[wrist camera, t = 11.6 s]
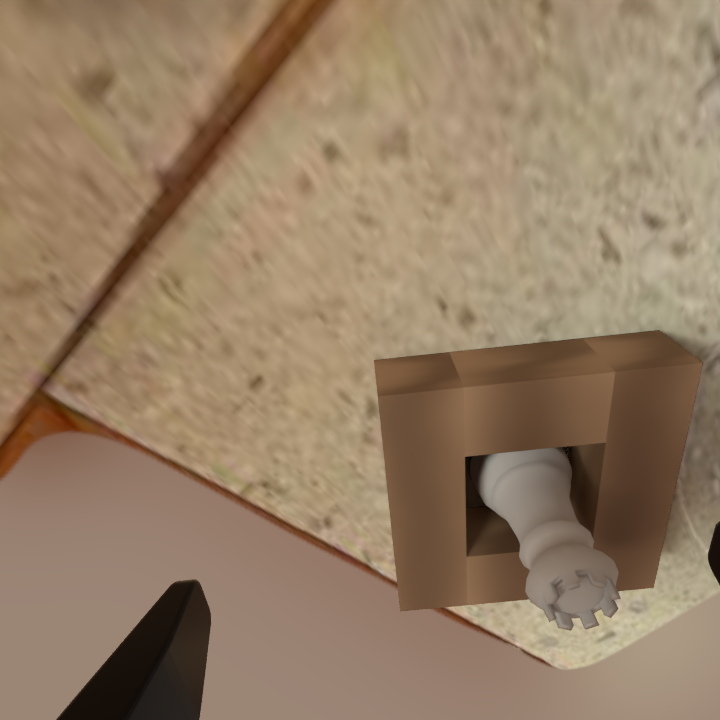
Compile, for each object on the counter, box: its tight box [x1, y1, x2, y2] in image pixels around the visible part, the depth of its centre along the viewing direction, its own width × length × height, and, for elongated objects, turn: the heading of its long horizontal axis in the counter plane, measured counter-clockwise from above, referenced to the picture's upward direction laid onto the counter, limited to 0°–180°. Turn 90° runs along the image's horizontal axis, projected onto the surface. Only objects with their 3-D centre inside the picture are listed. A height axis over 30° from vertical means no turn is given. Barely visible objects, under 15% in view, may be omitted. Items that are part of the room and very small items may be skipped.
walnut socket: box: [374, 330, 703, 611], centre depth 23 cm, size 12×12×3 cm
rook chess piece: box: [470, 447, 621, 630], centre depth 21 cm, size 4×4×8 cm
